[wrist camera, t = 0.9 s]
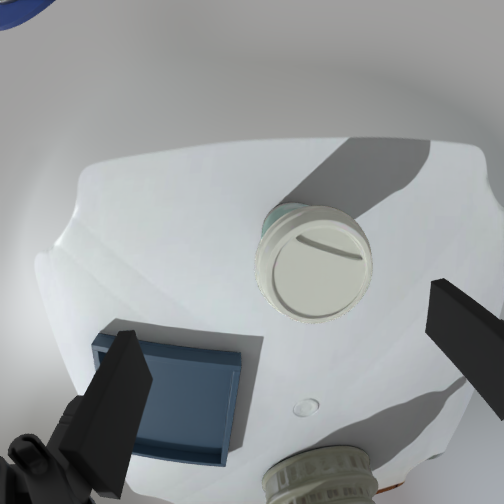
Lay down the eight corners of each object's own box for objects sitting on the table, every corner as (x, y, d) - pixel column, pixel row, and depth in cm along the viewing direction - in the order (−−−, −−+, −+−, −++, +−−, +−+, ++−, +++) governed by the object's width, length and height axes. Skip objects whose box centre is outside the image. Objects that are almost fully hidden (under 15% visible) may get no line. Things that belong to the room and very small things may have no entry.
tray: (98, 332, 34) (91, 344, 32) (240, 352, 36) (241, 365, 34) (118, 439, 41) (114, 450, 38) (225, 454, 43) (225, 467, 40)
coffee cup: (346, 235, 32) (399, 279, 21) (283, 285, 34) (306, 350, 22) (297, 170, 30) (335, 182, 19) (230, 225, 31) (228, 269, 20)
